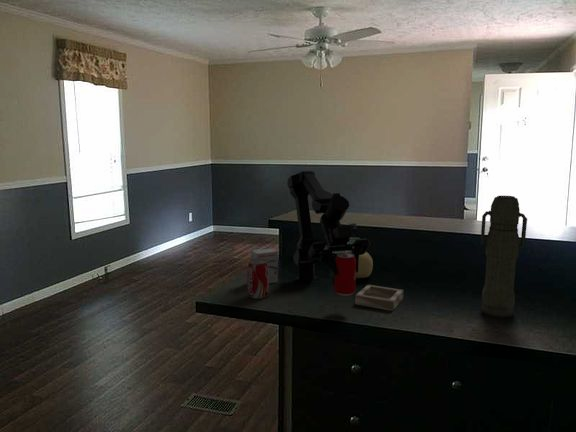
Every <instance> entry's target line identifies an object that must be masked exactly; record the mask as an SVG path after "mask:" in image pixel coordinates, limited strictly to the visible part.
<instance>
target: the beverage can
mask: <svg viewBox="0 0 576 432" xmlns="http://www.w3.org/2000/svg"><path fill="white" fill-rule="evenodd" d="M334 261H335V264H336V266H337V270H338V275H336V274H335V273H334V292H335V293H336V294H337V295H339V296H343V297H345V296H347V297H348V296H352V295H353V294H355V293H356V280H357V278H356V259H355V256H354V254H352V253H345V252H339V253H337V254H336V257H335V258H334Z"/></svg>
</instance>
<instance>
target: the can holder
mask: <svg viewBox="0 0 576 432" xmlns="http://www.w3.org/2000/svg"><path fill="white" fill-rule="evenodd" d="M403 300H404V289H400V288H392V287H387V286H379V285H372V284H367V285H366V286H365V287H364V288H362V289H361V290H360V291H358V292H357V293H356V294H355V300H354V301H355V302H354V303H355V305H357V306H363V307H367V308H368V307H369V308H374V309H381V310H385V311H392V312H394V310H395V309H396V308H397V307H398V305H399V304H401V302H402V301H403Z"/></svg>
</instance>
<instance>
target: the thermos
mask: <svg viewBox="0 0 576 432" xmlns="http://www.w3.org/2000/svg"><path fill="white" fill-rule="evenodd" d="M520 211H521V209H520V204H519V199H518V198H517V197H515V196H513V195H497V196H494V198H493V199H492V202H491V206H490V210H489V211H485V212H484V213H483V215H482V218H481V230H480V246H481V247H484V248H485V251H484V252H485V255H486V263H485V264H486V265H485V275H484V276H485V278H484V286H483V288H482V292H481V304H482V305H481V312H482V313H484V314H485V315H488V316H491V317H495V318H510V317H512V316H513V315H514V307H515V302H516V295H515V290H514V287H515V276H516V266H517V264H516V263H517V259H518V257H519V251H520V250H523V249H524V248H525V246H526V235H527V224H528V217H527V216H525V213H522V212H520ZM487 216H490V218H489V228H488V229H489V230H488V233H487V235H486V238H485V234H486V233H485V232H486V220H487V219H486V218H487ZM520 217H521V218H522V226H521V235H520V236H519V228H518V226H519V220H520ZM485 239H486V240H485Z"/></svg>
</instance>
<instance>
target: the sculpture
mask: <svg viewBox="0 0 576 432" xmlns="http://www.w3.org/2000/svg"><path fill="white" fill-rule="evenodd" d="M344 253H350V251H344ZM373 263H374V262H373V258H372V256H371V255H370V254H369V253H368V252H367V251H366V253H365V254H363V255H359V260H358V272H357V273H356V279H363V278H365V279H366V278H369V276H370V275H371V274H372V272H373V268H374V267H373V266H374V264H373Z"/></svg>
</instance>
